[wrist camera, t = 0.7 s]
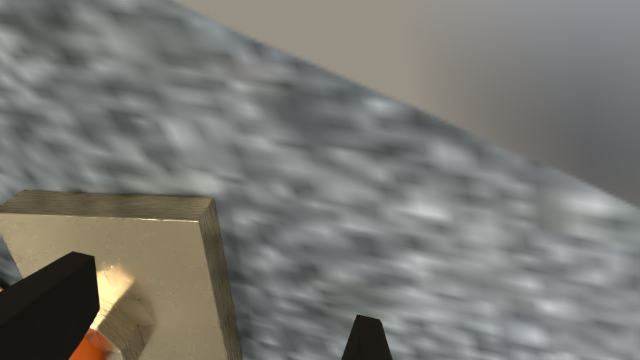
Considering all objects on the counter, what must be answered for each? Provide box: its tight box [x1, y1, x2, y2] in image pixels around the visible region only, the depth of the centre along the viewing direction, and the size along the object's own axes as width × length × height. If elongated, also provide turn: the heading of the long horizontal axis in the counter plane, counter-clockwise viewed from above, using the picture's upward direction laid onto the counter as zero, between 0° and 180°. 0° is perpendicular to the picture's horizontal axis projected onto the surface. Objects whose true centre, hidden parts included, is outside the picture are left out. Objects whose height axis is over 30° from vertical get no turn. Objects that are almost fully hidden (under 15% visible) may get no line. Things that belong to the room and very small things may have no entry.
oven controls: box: [0, 191, 243, 360], centre depth 23 cm, size 13×12×4 cm
